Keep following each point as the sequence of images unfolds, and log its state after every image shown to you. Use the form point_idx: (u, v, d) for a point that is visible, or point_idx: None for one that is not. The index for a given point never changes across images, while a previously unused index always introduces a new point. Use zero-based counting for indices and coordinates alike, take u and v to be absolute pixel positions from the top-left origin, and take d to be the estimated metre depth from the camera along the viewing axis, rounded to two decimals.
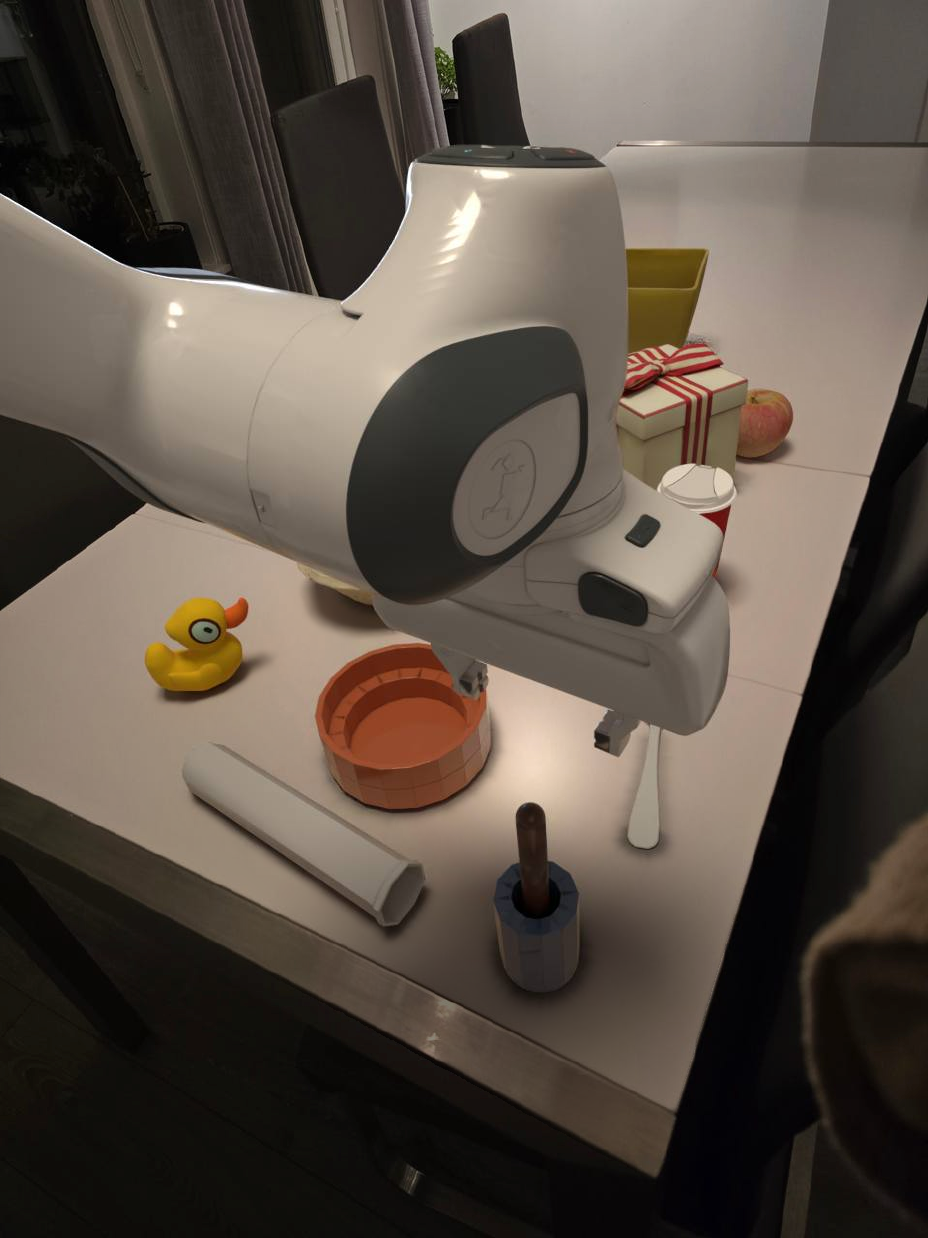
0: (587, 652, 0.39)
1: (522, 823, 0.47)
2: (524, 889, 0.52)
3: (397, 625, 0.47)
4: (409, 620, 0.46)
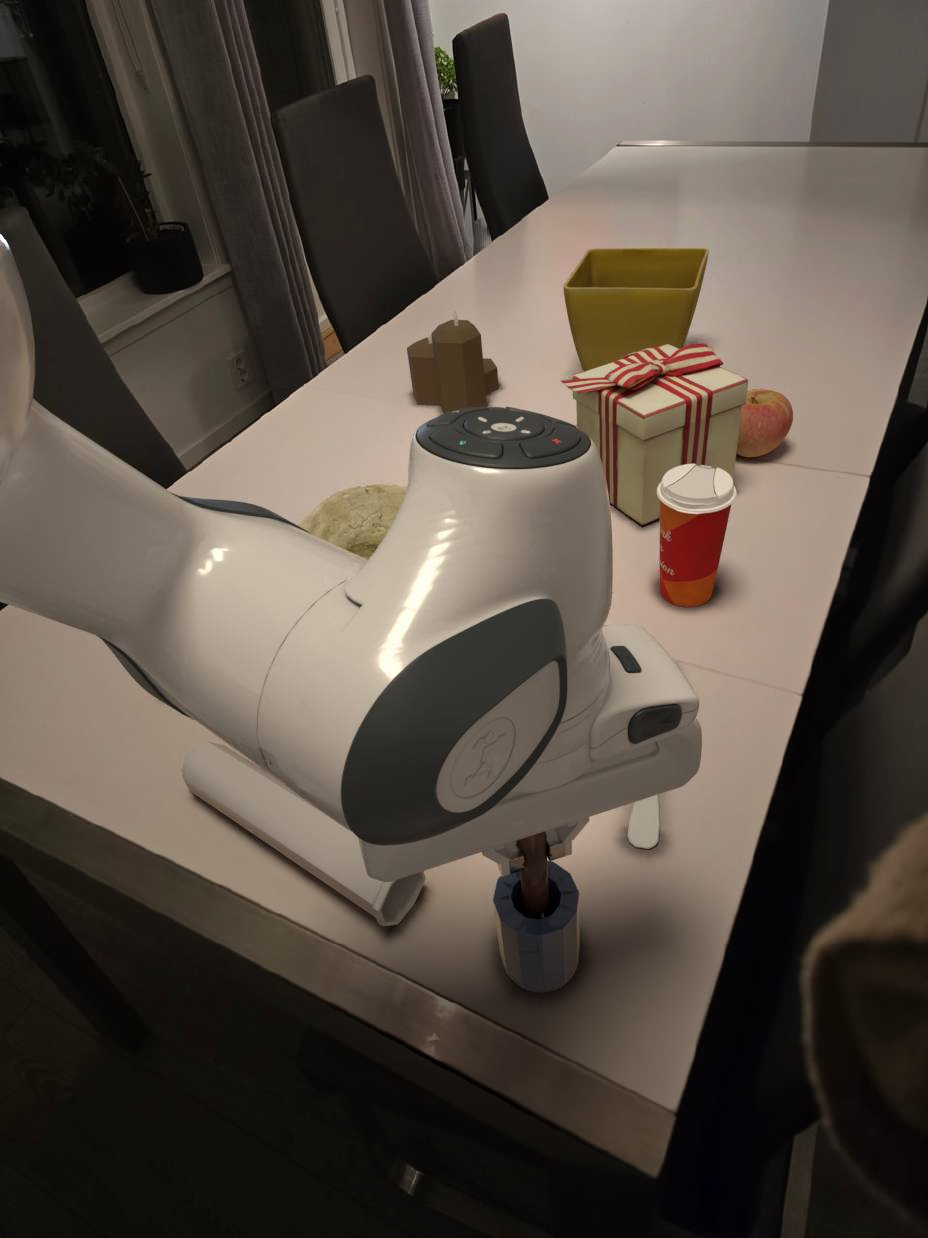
0: (606, 774, 0.45)
1: None
2: (524, 889, 0.52)
3: (402, 873, 0.44)
4: (418, 860, 0.44)
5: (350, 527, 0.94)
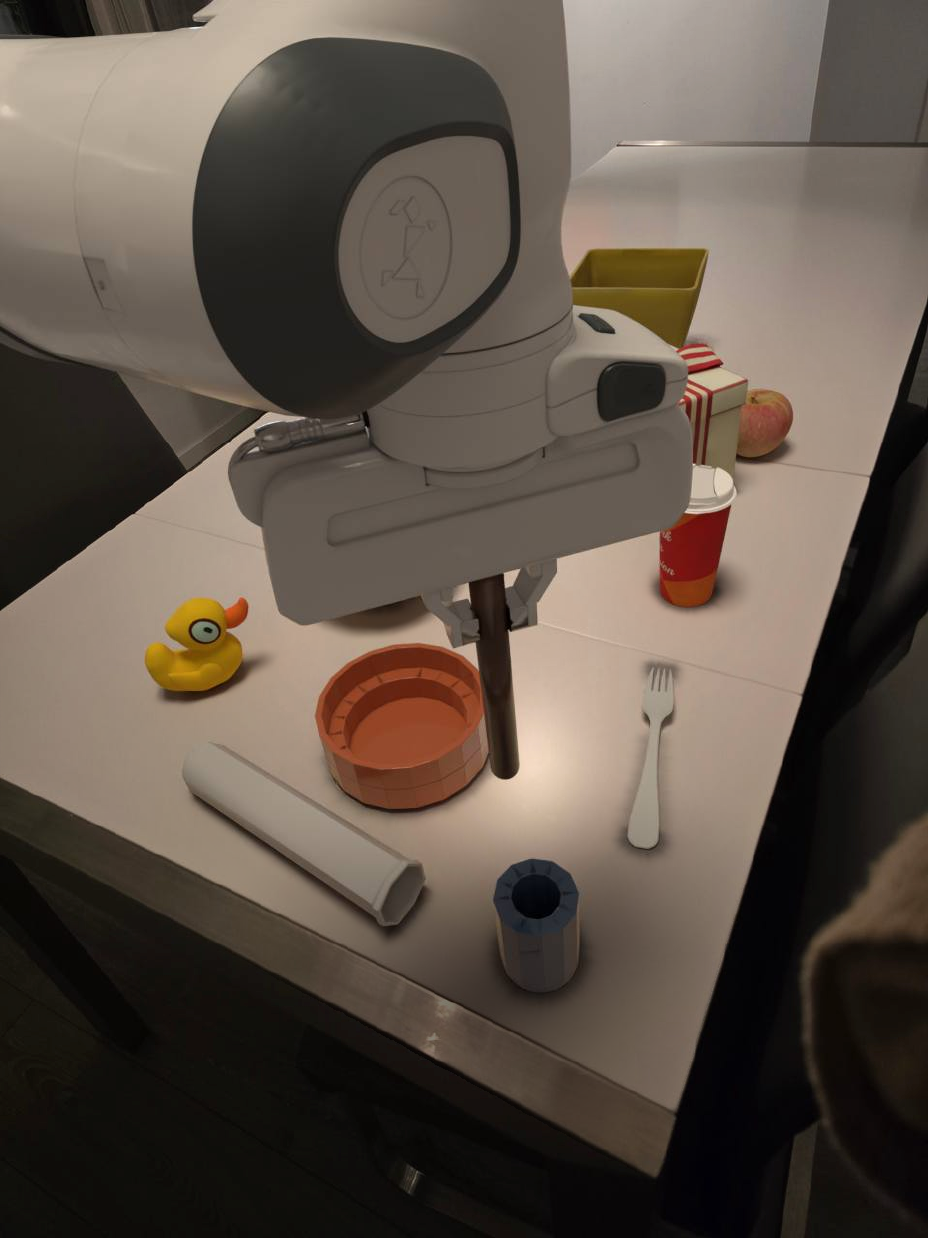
0: (574, 491, 0.36)
1: None
2: (482, 676, 0.44)
3: (323, 611, 0.36)
4: (341, 593, 0.36)
5: None
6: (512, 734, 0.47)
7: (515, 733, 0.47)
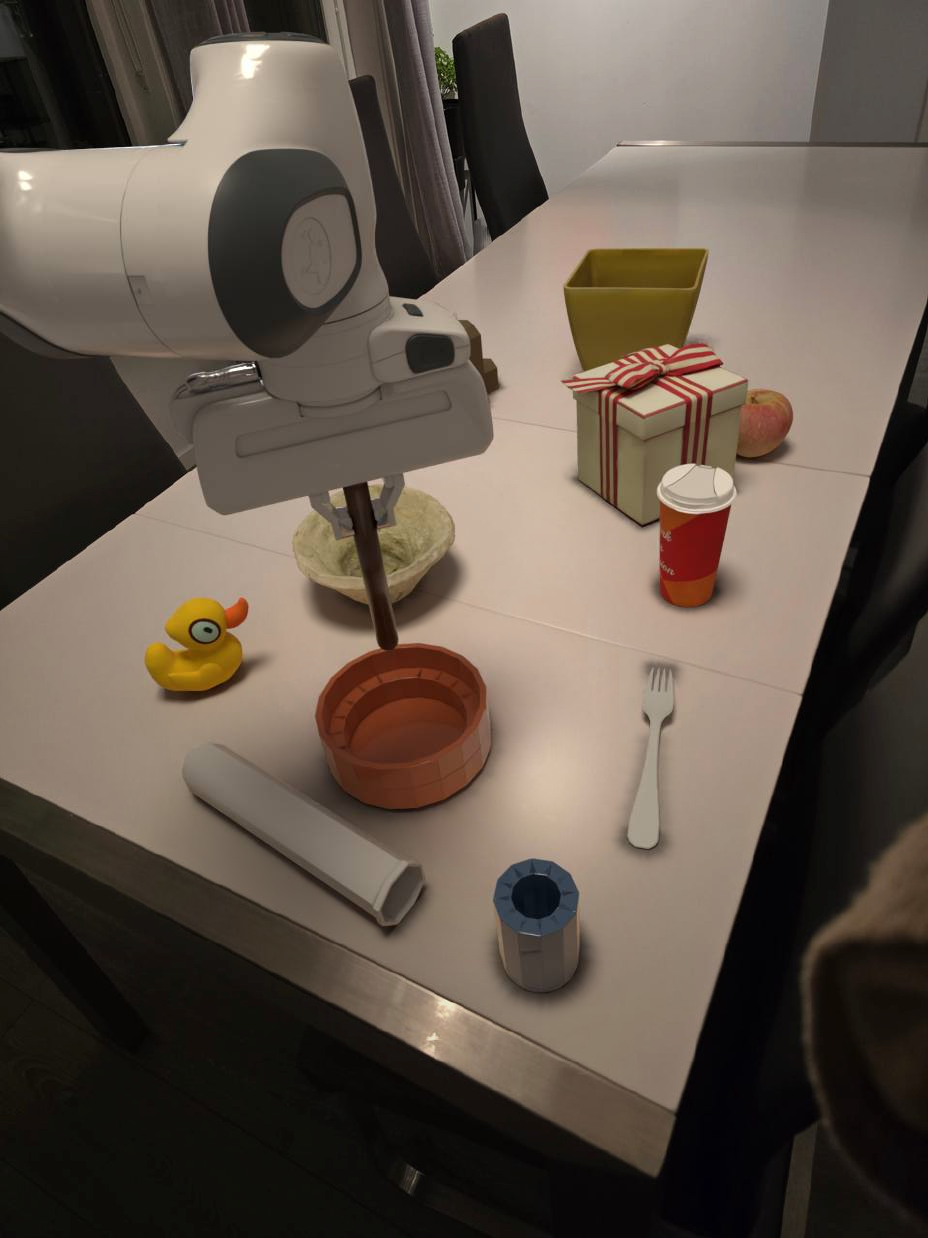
0: (406, 423, 0.54)
1: None
2: (360, 564, 0.61)
3: (236, 505, 0.53)
4: (248, 491, 0.53)
5: None
6: (388, 612, 0.64)
7: (391, 612, 0.64)
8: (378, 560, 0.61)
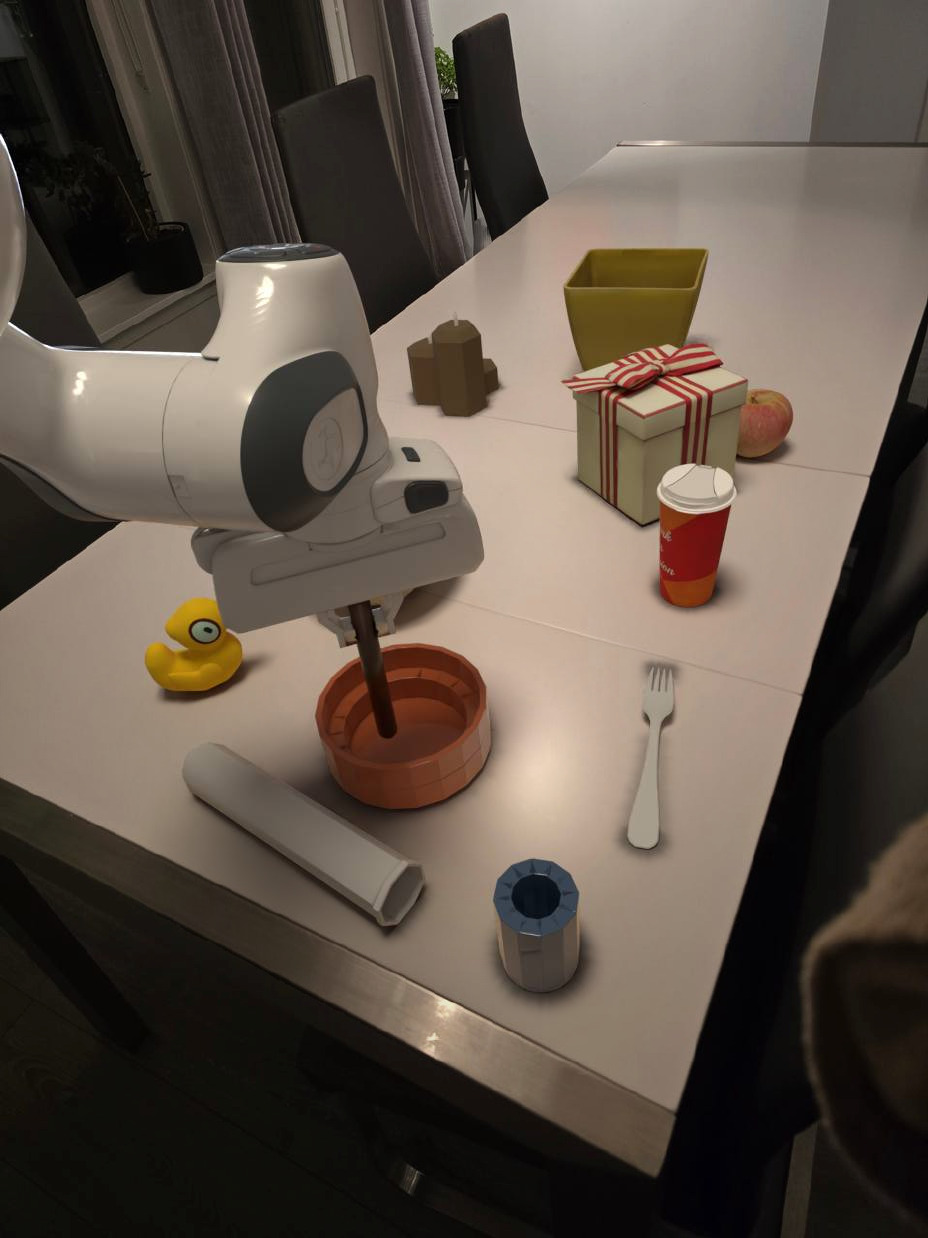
0: (405, 551, 0.59)
1: None
2: (363, 666, 0.66)
3: (250, 625, 0.59)
4: (261, 613, 0.58)
5: None
6: (387, 706, 0.69)
7: (390, 706, 0.70)
8: (379, 663, 0.66)
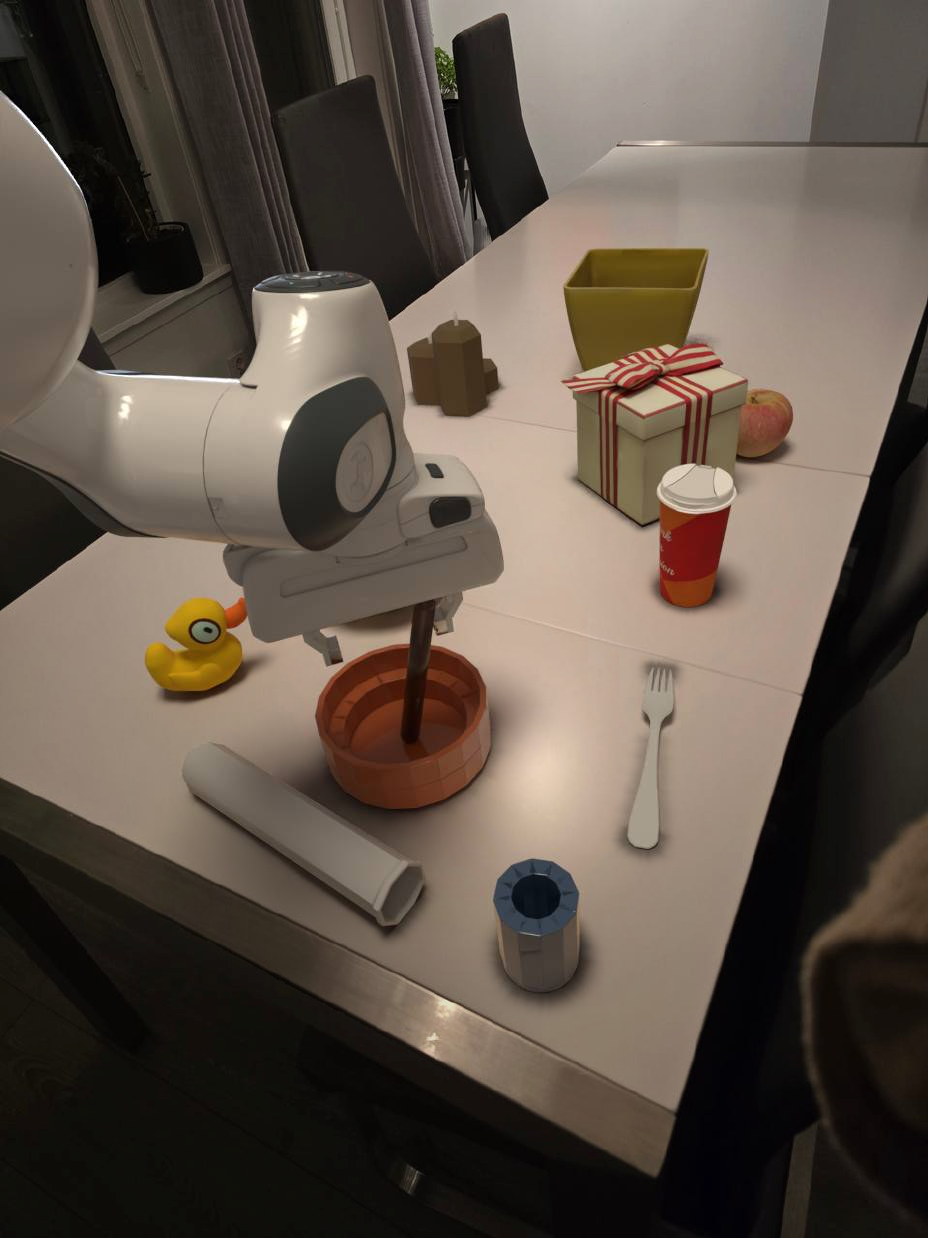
0: (428, 563, 0.61)
1: (418, 604, 0.64)
2: (409, 671, 0.69)
3: (279, 635, 0.61)
4: (289, 624, 0.60)
5: None
6: (419, 712, 0.72)
7: (421, 712, 0.72)
8: (425, 670, 0.69)
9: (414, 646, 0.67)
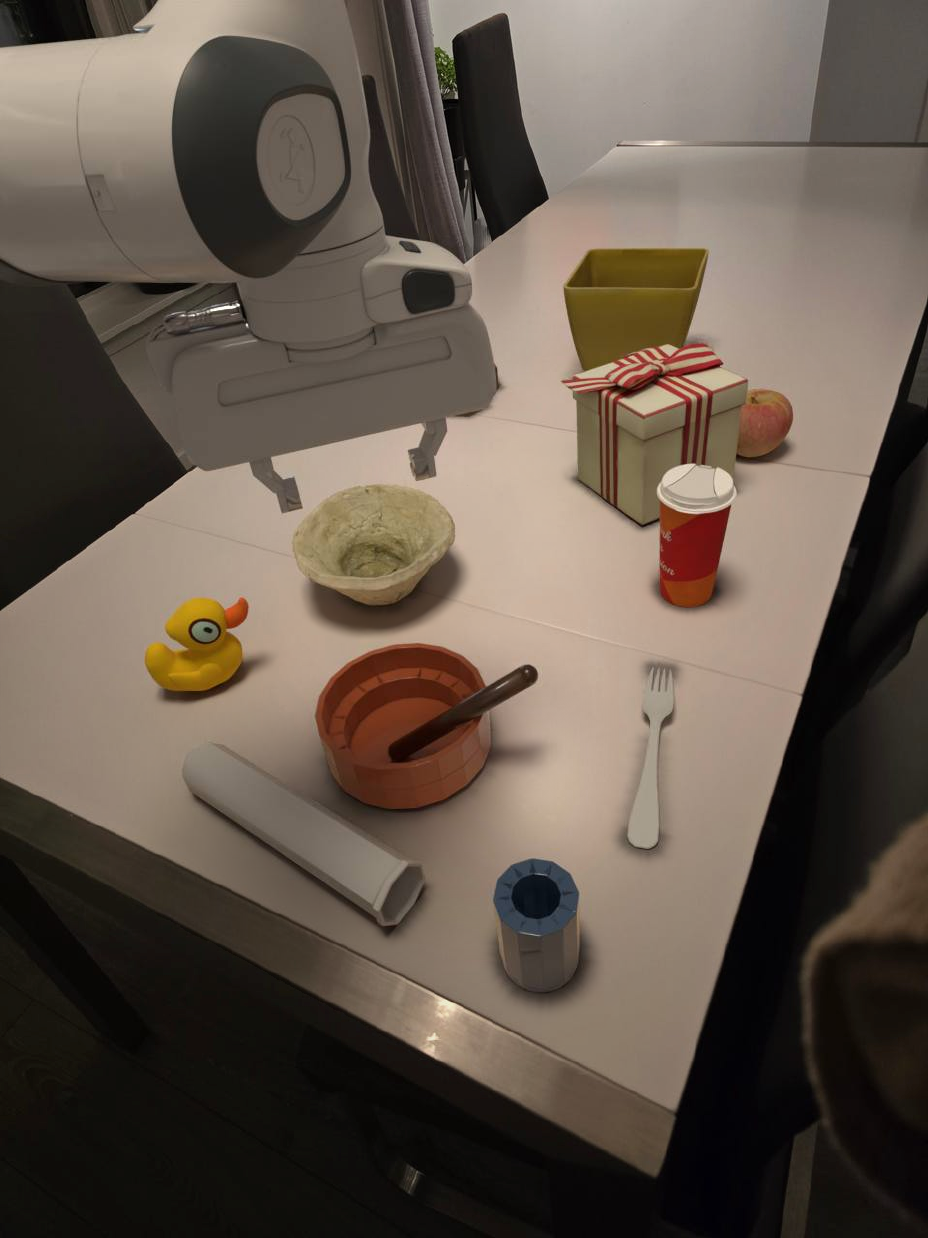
0: (403, 372, 0.50)
1: (533, 682, 0.65)
2: (465, 720, 0.68)
3: (219, 459, 0.49)
4: (232, 444, 0.49)
5: (350, 527, 0.94)
6: None
7: None
8: None
9: (494, 706, 0.67)
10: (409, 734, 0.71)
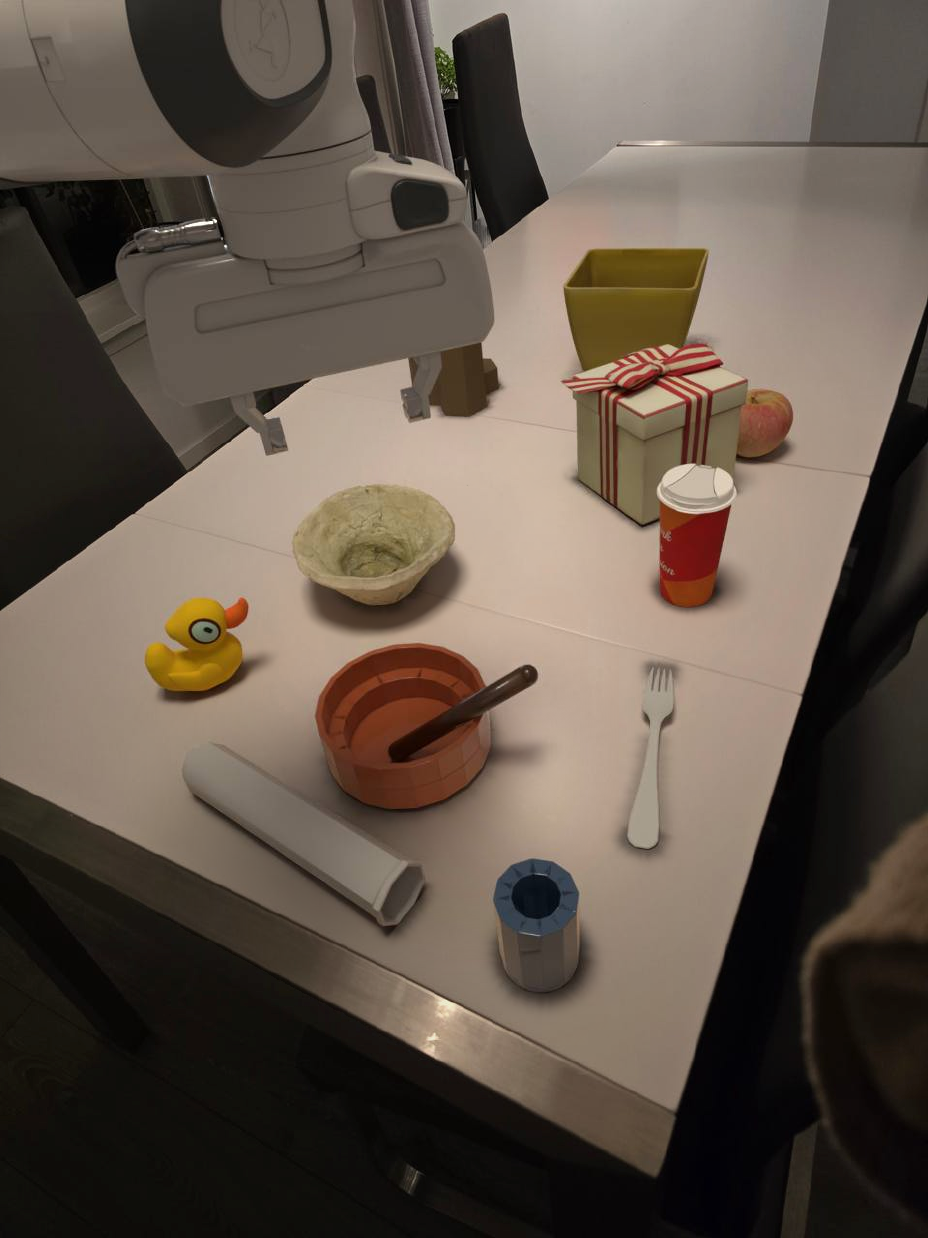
0: (394, 299, 0.46)
1: (533, 682, 0.65)
2: (465, 720, 0.68)
3: (197, 392, 0.46)
4: (211, 376, 0.46)
5: (350, 527, 0.94)
6: None
7: None
8: None
9: (494, 706, 0.67)
10: (409, 734, 0.71)
